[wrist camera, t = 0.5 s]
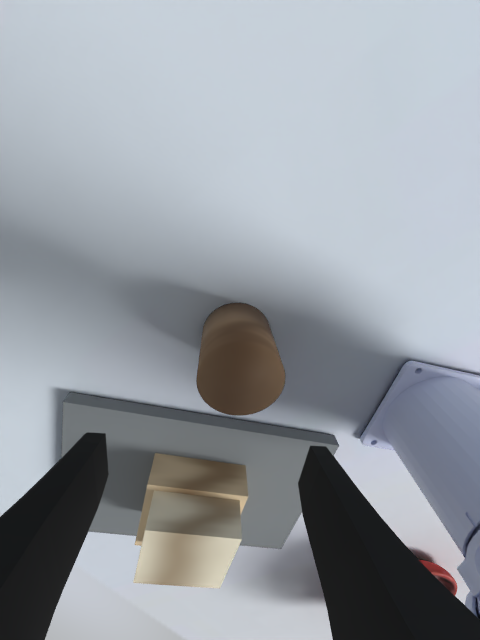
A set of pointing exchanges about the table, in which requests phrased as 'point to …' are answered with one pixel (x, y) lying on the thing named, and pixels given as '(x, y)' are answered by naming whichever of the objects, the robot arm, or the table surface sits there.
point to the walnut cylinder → (239, 361)
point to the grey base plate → (193, 442)
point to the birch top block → (189, 540)
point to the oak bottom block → (193, 481)
